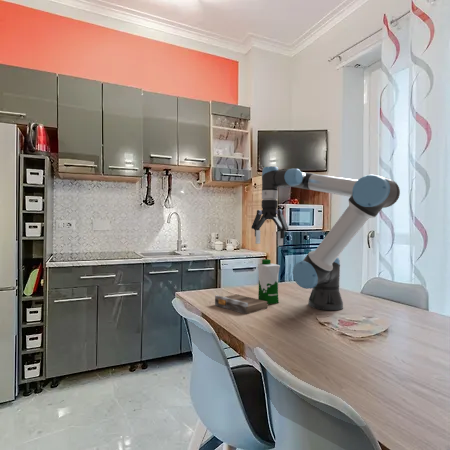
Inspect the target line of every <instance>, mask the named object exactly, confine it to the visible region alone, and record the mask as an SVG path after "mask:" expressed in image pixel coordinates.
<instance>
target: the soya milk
mask: <svg viewBox="0 0 450 450" xmlns="http://www.w3.org/2000/svg"><path fill="white" fill-rule="evenodd" d="M280 267H281V265H279V264H276V263H271V259H261V263H258V264H257V269H258V295H257V297H258V298H257V299H259V300H263V301H267V305H271V304H272V305H273V304H279V303H280V302H279V272H280Z"/></svg>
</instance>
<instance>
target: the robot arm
mask: <svg viewBox="0 0 450 450" xmlns="http://www.w3.org/2000/svg"><path fill="white" fill-rule="evenodd" d="M261 173H262V174H261V209H262V210H261V209H257V210H256V213H255V214H256V215H255V218H254V220H253V222H252V226H251V229H252V230H254V237H255V244H261V232H262V231H261V228H262V226H263V225H264V223H265V221H267V220H272V221H273V222H274V224H275V225H276V227H277V229H278V233H277V237H278V239H277V247H278V246H280V247H281V246H284V239H285V232H286V231H287V230H289V227H288V224H287V222H286V219H285V216H284V211H283V210H282V209H278V205H279V203H278V199H279V190H278V189H279V187H291V188H298V189H303V190H311V191H315V192H321V193H327V194H333V195H339V196H343V197H349V198H348V206H347V208H346V209H345V210H344V212H342V214H341V216H340V217H339V219H338V220H337V221H336V222H335V223H334V225H333V226H332V227H331V229H330V230H329V232H328V233H327V234H326V236H324V239H322V241H321V242H320V243H319V245H318V246H317V248H316V249H315V250H312V251H309V252H308V253H307V255H306V256H305V257H304V259H303V260H299V261H298V262H296V263H295V264H294V265H293V267H292V268H293V269H292V276H293V279H294V282H295V283H296V284H297V286H299V287H300V288H302V289H309V290H310V289H311V292H310V295H309V297H308V306H309V307H311V308H313V309H317V310H321V311H338V310H343V308H344V302H343V299H342V295H341V292H340V278H341V277H340V274H341V273H340V272H341V270H340V268H341V264H340V263H341V262H340V258H339V256H340V255H341V253H342V252H343V250H345V248H346V247H347V246H348V245H349V243H350V242H351V241H352V240H353V238H354V237H355V236H356V234H357V233H358V232H359V231H360V230H361V229H362V228H363V226H364V225H365V224H366V223H367V221H368V220H369V219H373V218H376V216H378V214H380V212H381V211H382V209H384V208H389V207H392V206H394V204H395V203H397V202H398V200H399V198H400V194H401V189H400V187H399V185H398V183H397V182H396V181H394V180H393V179H391V178H389V177H384V176H382V175H380V174H367V175H363V176H362V177H360V178H359V179H354V178H353V179H352V178H345V177H337V176H332V175H331V176H330V175H326V174H325V175H324V174H319V173H318V174H316V173H309V172H303V171H301V169H299V168H287V169H282V170H279V167H278V166H264V167H263V168H262V172H261Z"/></svg>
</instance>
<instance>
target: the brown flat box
mask: <svg viewBox="0 0 450 450" xmlns="http://www.w3.org/2000/svg"><path fill="white" fill-rule="evenodd" d="M214 306H217V307H220V308H222V309H227V310H230V311H233V312H237V313H240V314H243V315H249V314H252V313H256V312H258V311H264V310H265V309H268V304H267V301H263V300H259V299H258V298H254V297H250V296H246V295H241V294H230V295H226V296H221V295H218V294H216V295H215V296H214Z"/></svg>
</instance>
